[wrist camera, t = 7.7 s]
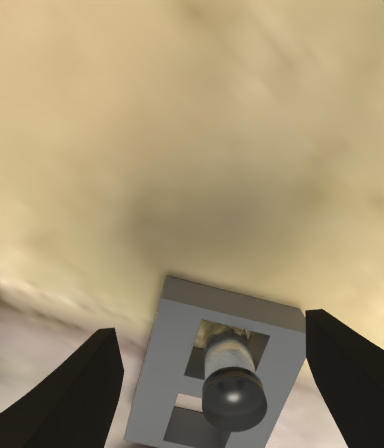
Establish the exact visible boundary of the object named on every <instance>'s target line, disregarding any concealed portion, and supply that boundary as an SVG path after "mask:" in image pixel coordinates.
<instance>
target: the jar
mask: <svg viewBox="0 0 384 448" xmlns="http://www.w3.org/2000/svg"><path fill="white" fill-rule="evenodd" d="M203 339H204V366H205V382H204V384H203V387H202V410H203V414H204V417H205V418H206V420H207V421H208V422H209V423H210V424H211V425H212V426H214V427H215V428H217V429H219V430H222V431H226V432H242V431H246V430H249V429H251V428H253V427H255V426H256V425H258V424H259V423H260V422H261V421H262V420H263V418H264V417H265V415H266V412H267V400H266V396H265V393H264V389H263V385H262V382H261V380H260V379H259V377H258V376H257V375H256V372H255V368H254V364H253V360H252V356H251V352H250V348H249V344H248V340H247V336H246V332H245V329H241V328H237V327H233V326H229V325H225V324H221V323H216V322H212V321H208V320H204V323H203Z"/></svg>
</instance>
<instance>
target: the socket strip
mask: <svg viewBox="0 0 384 448" xmlns="http://www.w3.org/2000/svg"><path fill="white" fill-rule="evenodd" d="M202 319H204V320H208V321H212V322H216V323H221V324H225V325H229V326H233V327H237V328H241V329H245V330H249V331H252V334H251V336H250V339H249V342H248V344H249V348H250V352H251V356H252V360H253V364H254V368H255V372H256V375H257V376H258V377H259V379H260V380H261V382H262V385H263V389H264V393H265V396H266V400H267V412H266V415H265V417H264V418H263V420H262V421H261V422H260V423H259V424H258V425H256V426H255V427H253V428H251V429H249V430H246V431H242V432H226V431H222V430H219V429H217V428H215V427H214V426H212V425H211V424H210V423H209V422H208V421H207V420H206V418H205V417H204V414H203V413H200V412H196V411H191V410H187V409H182V408H178V407H174V404H175V401H176V398H177V395H178V393H181V394H186V395H190V396H195V397H199V398H202V387H203V384H204V382H205V366H204V350H203V349H199V348H195V347H193V345H194V342H195V339H196V336H197V333H198V330H199V327H200V324H201V320H202ZM305 358H306V318H305V317H304V315H303V313H302V311H301V310H300V309H297V308H293V307H289V306H285V305H281V304H277V303H273V302H269V301H265V300H261V299H257V298H253V297H249V296H245V295H241V294H237V293H233V292H229V291H225V290H221V289H217V288H213V287H209V286H205V285H200V284H196V283H192V282H188V281H184V280H180V279H176V278H172V277H168V276H166V280H165V284H164V287H163V291H162V295H161V298H160V302H159V306H158V309H157V313H156V317H155V321H154V324H153V328H152V332H151V335H150V339H149V343H148V346H147V350H146V354H145V358H144V361H143V365H142V369H141V372H140V376H139V380H138V383H137V387H136V391H135V395H134V398H133V402H132V406H131V410H130V414H129V418H128V423H127V427H126V431H125V435H124V440H125V441H129V442H134V443H139V444H144V445H148V446H153V447H158V448H265V446H266V444H267V441H268V439H269V437H270V435H271V433H272V431H273V428H274V426H275V424H276V422H277V420H278V417H279V415H280V413H281V411H282V409H283V406H284V404H285V402H286V400H287V398H288V396H289V393H290V391H291V389H292V387H293V385H294V382H295V380H296V378H297V376H298V374H299V372H300V369H301V367H302V365H303V363H304V361H305Z"/></svg>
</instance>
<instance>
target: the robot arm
mask: <svg viewBox="0 0 384 448" xmlns="http://www.w3.org/2000/svg"><path fill="white" fill-rule="evenodd" d="M306 358H307V361H308V364H309V367H310V369H311V372H312V375H313V377H314V380H315V383H316V385H317V387H318V389H319V391H320V393H321V395H322V397H323V399H324V401H325V403H326V405H327V407H328V409H329V411H330V413H331V415H332V416H333V418H334V420H335V422H336V424H337V426H338V428H339V430H340V432H341V434H342V436H343V438H344V440H345V442H346V444H347V446H348V448H384V350H383V349H381V348H380V347H378V346H376V345H375V344H373V343H372V342H370V341H369V340H367V339H366V338H364V337H363V336H361V335H360V334H358V333H357V332H355V331H354V330H352V329H351V328H349V327H348V326H346V325H345V324H343V323H342V322H341V321H339V320H338V319H336V318H335V317H333V316H332V315H331V314H329V313H328V312H326V311H325V310H323V309H317V310H306ZM123 376H124V368H123V364H122V359H121V355H120V350H119V346H118V341H117V336H116V332H115V328H106V329H99V330H97V331H96V332H95V333H94V334H93V335H92V336H91V337H90V338H89V339H88V340H86V341H85V342H84V343H83V344H82V345H81V346H80V347H79V348H78V349H77V350H76V351H75V352H74V353H73V354H72V355H71V356H70V357H69V358H67V359H66V360H65V361H64V362H63V363H62V364H61V365H60V366H59V367H58V368H57V369H55V370H54V371H53V372H52V373H51V374H50V375H49V376H47V377H46V378H45V379H44V380H43V381H42V382H40V383H39V384H38V385H37V386H36V387H35V388H33V389H32V390H31V391H30V392H28V393H27V394H26V395H25V396H23V397H22V398H21V399H19V400H18V401H17V402H15V403H14V404H13V405H11V406H10V407H9V408H7V409H6V410H4V411H3V412H2V413H0V448H104V445H105V442H106V439H107V436H108V433H109V430H110V426H111V423H112V420H113V417H114V414H115V411H116V407H117V404H118V401H119V397H120V392H121V387H122V381H123Z"/></svg>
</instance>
